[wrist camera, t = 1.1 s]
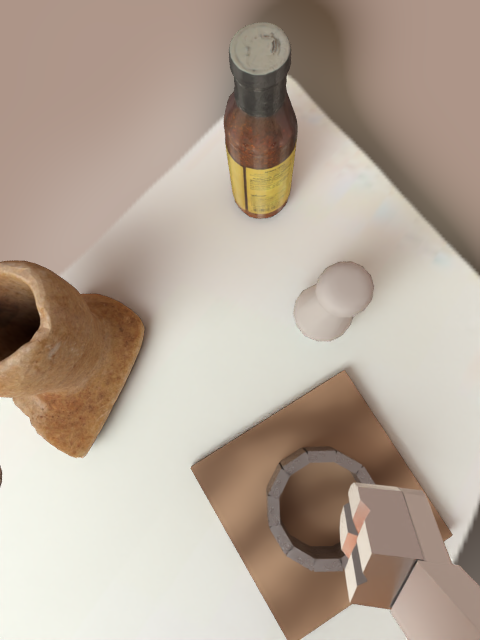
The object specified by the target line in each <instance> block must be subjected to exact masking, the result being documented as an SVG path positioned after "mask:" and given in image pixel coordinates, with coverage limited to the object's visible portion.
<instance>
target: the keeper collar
mask: <svg viewBox="0 0 480 640" xmlns="http://www.w3.org/2000/svg"><path fill="white" fill-rule="evenodd" d="M322 462H335V463H337V464H338V465H340V466H342V467H344V468H346V469H347V470H349V471H350V472H351V474H352V476H353V477H354V479H355V480H356V482H357V483H364V484H374V485H376V484H375V483H374V481H373V480H372V478H371V477H370V475H369V473H368V472H367V470H366V469H365V467H364V466H363V465H362V464H360V463H359V462H357V461H356V460H354V459H352V458H350V457H349V456H347V455H345V454H343V453H341V452H339V451H338V450H336V449H334V448H332V447H329V446H320V447H303V448H300V449H298V450H297V451H295V452H294V453H292V454H291V455H289V456H288V457H286V458H284V459H283V460H281V461H280V463H281V464H280V463H278V465H277V467H276V469H275V471H274V473H273V475H272V477H271V479H270V481H269V483H268V485H267V488H266V495H267V518H268V524H269V528H270V530H271V532H272V534H273V535H274V537H275V539H276V540H277V542H278V544H279V546H280V547H281V549H282V551H283V552H284V554H286V556H287V557H289V558H290V559H292V560H294V561H295V562H297V563H299V564H301V565H302V566H304V567H306V568H307V569H309V570H311V571H312V570H314V572H329V571H343V568H344V570H345V568H346V566H347V563H348V560H349V559H348V557H347V556H346V555H345V553H344V552H343V551H342V549H341V541H340V542H338V543H337V544H335V545H334V546H309V545H307V544H305V543H303V542H302V541H300V540H298V539H297V538H295V537H293V536H291V535H290V534H289V532H288V531H287V529H286V527H285V525H284V524H283V522H282V520H281V519H280V507H279V497H280V495H281V493H282V491H283V489H284V487H285V485H286V483H287V481H288V479H289V477H290V476H291V475H292V474H294V473H295V472H297V471H298V470H300V469H302V468H303V467H305V466H306V465H308V464H309V463H322Z"/></svg>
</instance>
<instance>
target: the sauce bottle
mask: <svg viewBox="0 0 480 640" xmlns="http://www.w3.org/2000/svg"><path fill="white" fill-rule="evenodd" d="M229 62H230V69H231V71H232V74H233V76H234V82H235V87H234V92H233V93H232V94H231V95H230V96H229V99H228V102H227V106H226V110H225V115H224V129H225V144H226V151H227V158H228V165H229V171H230V178H231V185H232V192H233V196H234V198H235V202H236V203H237V205H238V206H239V208H240V209H241V210H242V211H243V212H244V213H246V214H247V215H248V216H250V217H253V218H259V219H261V218H268V217H272V216H274V215H276V214H277V213H278V212H279V211H281V210H282V208H283V207H284V206H285V204H286V203H287V200H288V196H289V194H290V189H291V181H292V173H293V165H294V157H295V150H296V141H297V120H296V116H295V113H294V110H293V107H292V105H291V102H290V99H289V96H288V93H287V90H286V82H287V80H286V76H287V73H288V71H289V68H290V65H291V46H290V42H289V39H288V37H287V36H286V34H285V33H284V32H283V30H281V29H280V28H279V27H278V26H276V25H274V24H270V23H266V22H263V23H253V24H250V25H248V26H245V27H243V28H242V29H240V30H239V31H238V32H237V33H236V34H235V35H234V37H233V38H232V40H231V43H230V47H229Z"/></svg>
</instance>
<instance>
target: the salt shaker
mask: <svg viewBox="0 0 480 640" xmlns="http://www.w3.org/2000/svg"><path fill="white" fill-rule="evenodd" d="M373 289H374V285H373V282H372V279H371V275H370V274H369V273H368V272H367V271H366V270H365V269H364V268H363V267H362V266H360V265H358V264H356V263H353V262H338V263H336V264H333V265H331V266H329V267H327V268H326V269H325V270H324V271H323V273H322V274H321V275H320V277H319V278H318V281H317V284H316V285H314V286H312V287H309V288H307V289H305V290H303V292H302V293H301V294H300V296H299V297H298V298H297V300H296V302H295V306H294V311H293V315H294V318H295V322H296V325H297V327H298V328H299V329H300V331H301V332H302V333H303V334H304V335H305V336H306V337H309V338H311V339H313V340H316V341H332V340H334V339H336V338H338V337H340V336H342V335H343V334H344V332H345V331H346V330H347V329H348V327H349V326H350V324H351V322H352V319H353V316H354V315H356V314H358V313H360V312H362V311H364V309H365V308H366V307H367V305H368V304H369V303H370V302H371V300H372V296H373Z"/></svg>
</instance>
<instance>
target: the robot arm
mask: <svg viewBox="0 0 480 640" xmlns="http://www.w3.org/2000/svg"><path fill="white" fill-rule="evenodd" d="M1 483H2V470H1V467H0V486H1ZM348 496H349V503H347V504H346V505H344V506H343V509H342V513H341V518H340V541H341V549H342V551H343V552H344V553H345V555H346V556H347V557H348V559H349V560H348V563H347V566H346V568H345V576H346V582H347V588H348V595H349V601H350V603H351V604H358V605H364V606H371V607H377V608H384V609H391V611H390V613H391V614H392V616H393V617H394V619H395V620H396V622H397V623H398V625H399V626H400V628H401V629H402V631H403V632H404V634H405V636H406V637H407V639H408V640H480V586H479V585H478V584H477V583H476V582H475V581H474V580H473V579H472V578H471V577H470V576H469V575H468V574H467V573H466V572H465V571H464V570H463V569H462V568H461V567H460V566H459V565H453V564H452V562H451V560H450V557H449V554H448V552H447V549H446V547H445V544H444V541H443V539H442V536H441V533H440V531H439V528H438V525H437V523H436V520H435V518H434V515H433V512H432V510H431V507H430V504H429V502H428V499H427V497H426V494H425V493H424V492H423V491H422V490H415V489H406V488H397V487H393V486H383V485H374V484H364V483H353V484H352V485H351V486H350V489H349V492H348Z"/></svg>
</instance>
